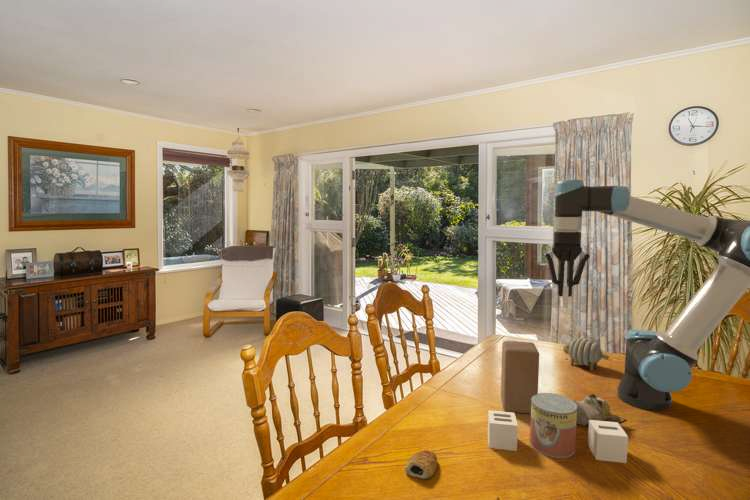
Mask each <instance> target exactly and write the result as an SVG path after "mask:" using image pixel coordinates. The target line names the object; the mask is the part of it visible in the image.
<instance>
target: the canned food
mask: <svg viewBox="0 0 750 500" xmlns="http://www.w3.org/2000/svg"><path fill="white" fill-rule="evenodd" d="M577 409H578V406H577V404H576V403H575V402H574V401H573V399H571V398H569V397H568V396H564V395H561V394H557V393H552V392H541V393H540V392H539V393H538V394H536V395H534V396H532V398H531V414H530V427H529V429H530V432H529V444H530V446H531V447H532V448H533V450H535V451H536V452H538V453H539V454H541V455H544V456H546V457H550V458H554V459H555V458H557V459H566V458H570V457H572V456H573V455H575V453H576V438H577V437H576V436H577V423H576V420H577Z"/></svg>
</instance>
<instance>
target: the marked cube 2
mask: <svg viewBox="0 0 750 500" xmlns="http://www.w3.org/2000/svg"><path fill="white" fill-rule="evenodd" d="M628 445H629V436H628V434H627V433H626V431H625V430H624V428H622V426H621V424H619V423H618V422H608V421H597V420H589V423H588V433H587V446H588V447H589V449H590V451H591V453H592V455H593V457H594V459H595V461H597V460H598V461H603V462H614V463H622V464H627V460H628Z"/></svg>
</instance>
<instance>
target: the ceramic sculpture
mask: <svg viewBox="0 0 750 500" xmlns="http://www.w3.org/2000/svg"><path fill="white" fill-rule="evenodd" d="M572 400H573V399H572ZM573 401H574V402H575V403H576V404H577V406H578V409H577V420H576V425H577V424H578V425H580V426H583V427H585V426H587V425H589V420H597V421H608V422H618V423H619V425H621V424H623V423H625V422H627V421H628V419H627V418H622V417H620V416H619V415H616V414H613V413H611V409H610V405H609V404H608V402H607V401H606V400H605V399H603V398H601V397H599V396H597V395H595V394H588V395H586V396H585V397H584V399H583V400H581V401H579V400H573Z"/></svg>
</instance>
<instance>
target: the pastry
mask: <svg viewBox="0 0 750 500" xmlns="http://www.w3.org/2000/svg"><path fill="white" fill-rule="evenodd" d="M437 463H438V457H437V454H436V453H434V452H433V451H430V450H427V449H425V450H422V451H418V452H415V453H413V454H412V455H411V457H409V458H408V460H407V462H406V466H405V467H404V471H405V472H406V474H407V475H409V476H410V475H411V477H413V476H414V478H419V479H422V480H427V479H430V478H432V477H433V476H434V475H435V473H436V469H437V465H438V464H437Z"/></svg>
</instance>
